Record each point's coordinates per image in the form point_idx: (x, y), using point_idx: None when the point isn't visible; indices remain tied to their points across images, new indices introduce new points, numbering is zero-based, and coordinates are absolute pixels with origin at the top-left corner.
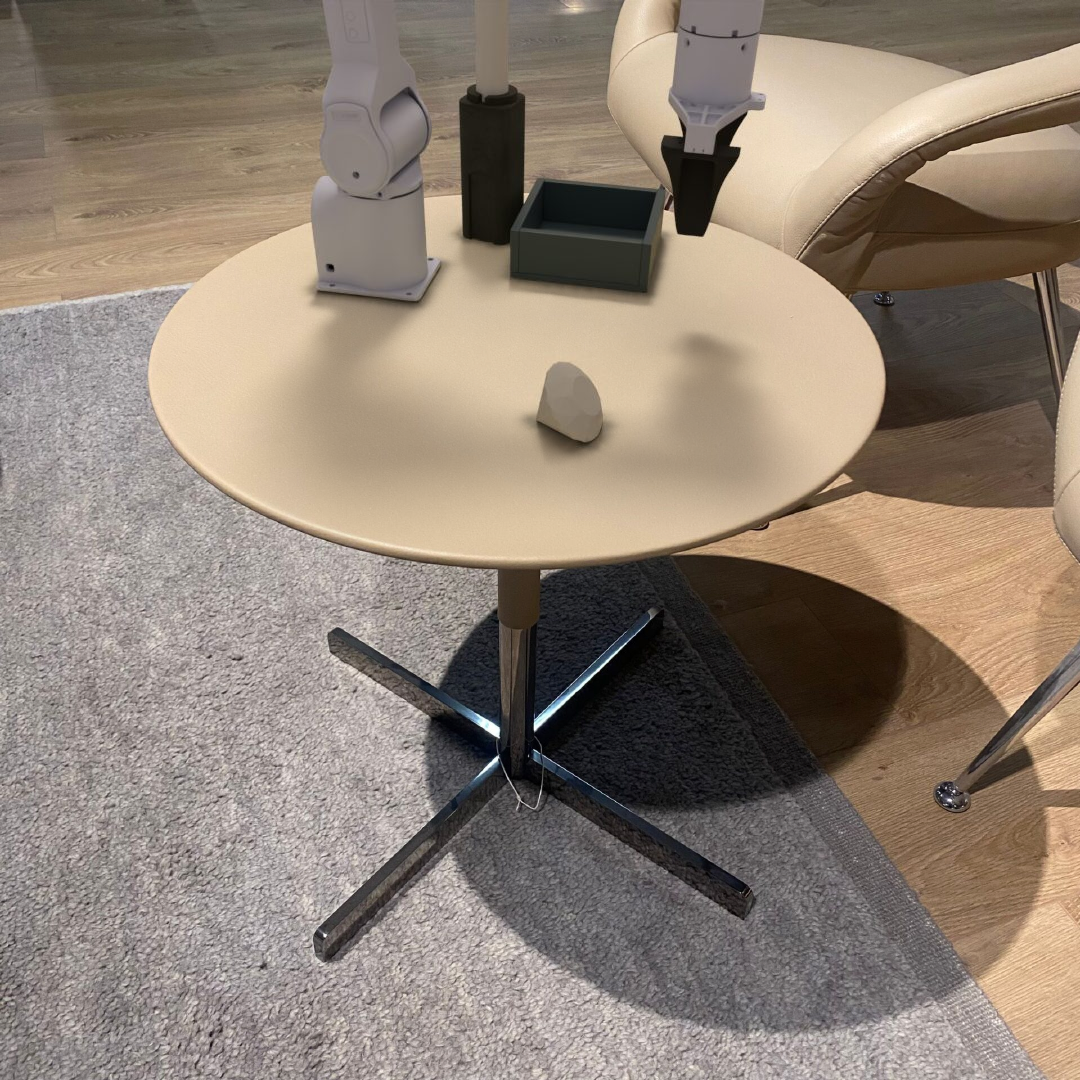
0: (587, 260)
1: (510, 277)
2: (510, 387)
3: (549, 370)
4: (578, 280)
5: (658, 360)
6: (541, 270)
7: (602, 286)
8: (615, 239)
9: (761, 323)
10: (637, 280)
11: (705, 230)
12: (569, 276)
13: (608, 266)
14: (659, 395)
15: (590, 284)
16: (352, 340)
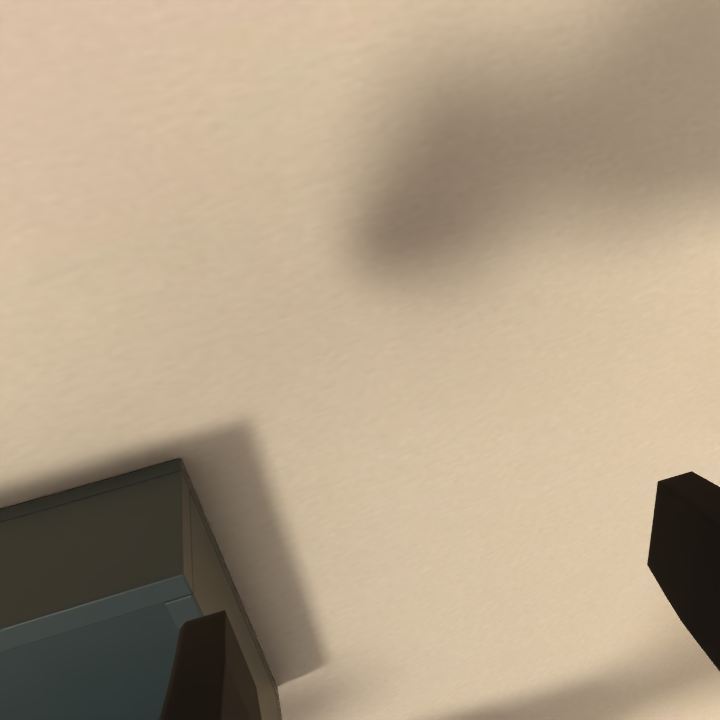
0: (236, 636)
1: (277, 688)
2: None
3: None
4: (237, 599)
5: (527, 297)
6: (262, 670)
7: (219, 550)
8: None
9: (179, 78)
10: (192, 504)
11: (716, 487)
12: (244, 621)
13: (218, 589)
14: (684, 236)
15: (228, 573)
16: (589, 711)
